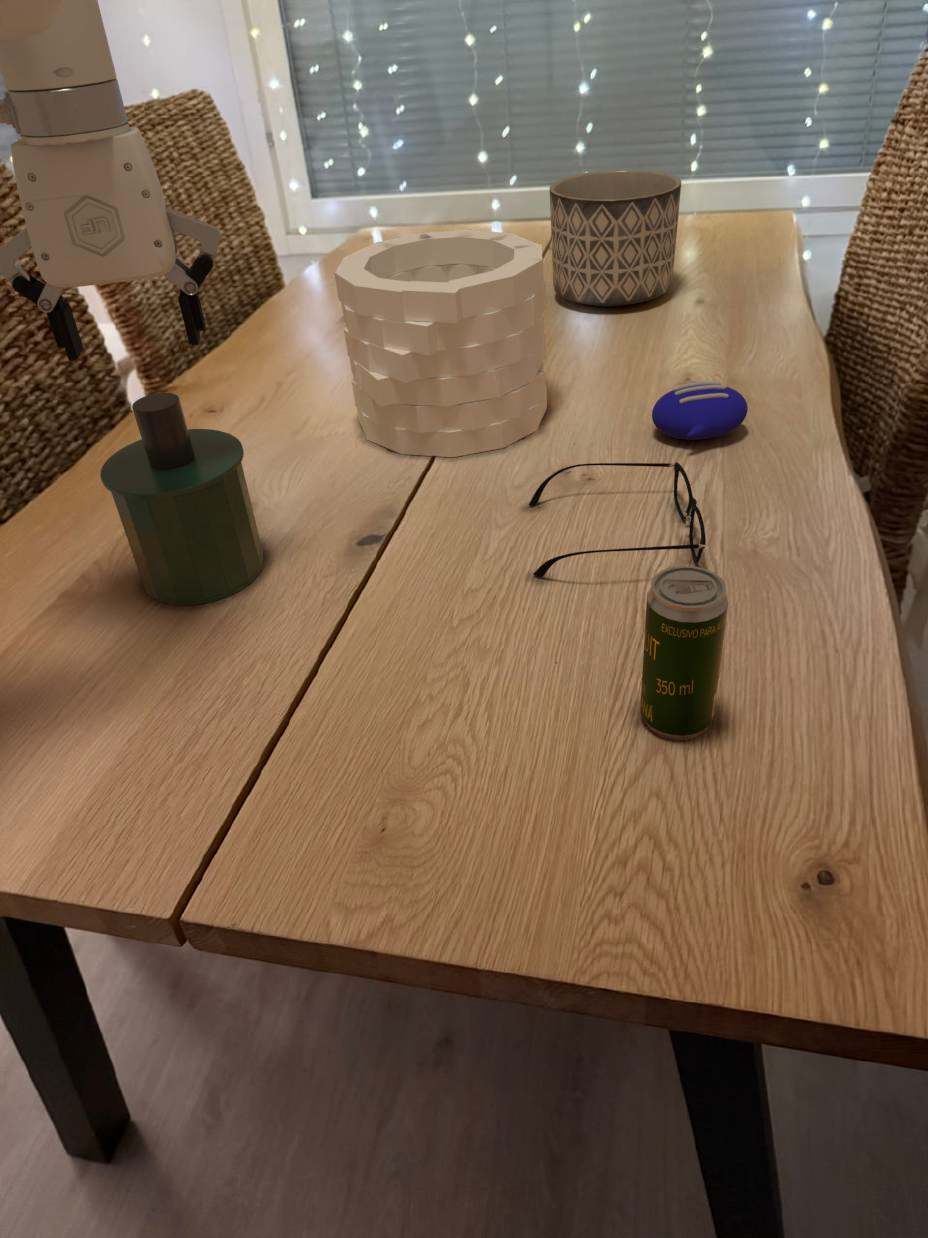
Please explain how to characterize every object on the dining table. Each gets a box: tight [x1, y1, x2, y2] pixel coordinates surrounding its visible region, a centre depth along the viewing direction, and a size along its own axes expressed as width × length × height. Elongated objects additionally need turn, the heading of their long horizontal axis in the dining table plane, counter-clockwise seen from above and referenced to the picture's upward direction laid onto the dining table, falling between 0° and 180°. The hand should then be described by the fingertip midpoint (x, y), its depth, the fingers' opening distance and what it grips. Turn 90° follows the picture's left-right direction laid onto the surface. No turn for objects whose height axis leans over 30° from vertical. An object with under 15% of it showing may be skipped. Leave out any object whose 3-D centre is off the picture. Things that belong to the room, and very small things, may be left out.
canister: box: [110, 462, 265, 606], centre depth 86 cm, size 12×12×12 cm
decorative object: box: [651, 380, 749, 441], centre depth 103 cm, size 10×6×10 cm
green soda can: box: [639, 565, 729, 741], centre depth 65 cm, size 5×5×12 cm
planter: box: [549, 168, 682, 308], centre depth 141 cm, size 19×19×16 cm
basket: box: [334, 229, 548, 458], centre depth 109 cm, size 25×24×19 cm
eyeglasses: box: [528, 461, 707, 578], centre depth 88 cm, size 16×16×4 cm
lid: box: [99, 392, 245, 499], centre depth 81 cm, size 13×13×7 cm
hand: (136, 347), depth 76 cm, fingers open, 9 cm apart
